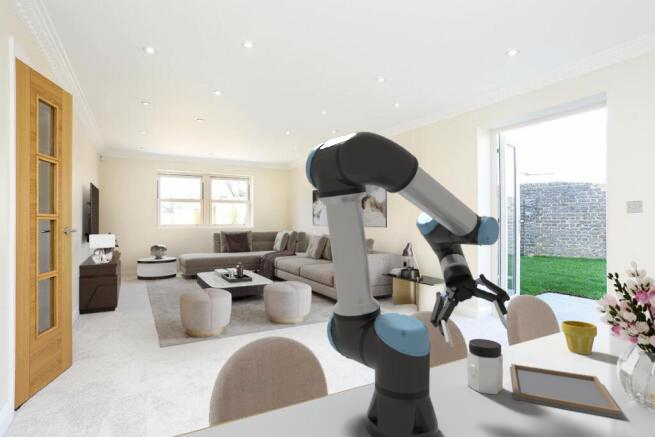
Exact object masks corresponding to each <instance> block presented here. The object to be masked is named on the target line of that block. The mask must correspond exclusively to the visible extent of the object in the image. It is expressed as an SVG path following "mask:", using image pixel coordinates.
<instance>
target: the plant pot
mask: <svg viewBox="0 0 655 437" xmlns="http://www.w3.org/2000/svg"><path fill="white" fill-rule="evenodd" d="M561 331H562V332H563V334H564V337H565V341H566V345H567V349H569V350H570V352H571V351H572V352H571V353H573V354H579V355H590V354H592V350H593V346H594V341H595V337H597V335H598V328H597V325H596V324H593V323H592V322H588V321H579V320H563V321H561ZM569 350H568V351H569Z"/></svg>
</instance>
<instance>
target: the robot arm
mask: <svg viewBox="0 0 655 437" xmlns="http://www.w3.org/2000/svg"><path fill="white" fill-rule="evenodd" d="M419 164H420V163H419V160H418V158H417V157H416V156H415V155H413V154H412V153H411V152H410V151H408V150H407V149H406V148H405V147H403V146H402V145H400V144H398V143H397V142H395V141H393V140H392V139H390V138H387V137H385V136H383V135H380V134H377V133H374V132H370V131H357V132H354V133H351V134H348V135H345V136H340V137H338V138H334V139H330V140H326V141H323V142H322V143H321V144H318V145H317V146H315V147H314V148H313V149H312V150H311V152H310V153H309V154H308V156H307V159H306V162H305V175H306V178H307V181H308V183H310V185H312V187H313V188H314V189H316V190H317V192H316V193H317V197H318V198H317V199H318V201H320V202H321V203H322V204H324V206H325V211H326V218H327V226H328V227H327V228H328V233H329V240H330V241H329V242H330V249H331V258H332V265H333V271H334V272H333V275H334V280H335V288H336V296H337V301H336V303H335V305H334V306H333V307H332V312H333V313H332V314H331V315H330V316H329V319H330V320H329V321H328V322H327V324H326V325H327V326H326V333H327V334H326V335H327V338H328V341H329V344H330V346H331V347H332V348H333V350H334V351H335V352H337V353H339V355H341V356H342V357H345V358H346V359H349V360H353V361H354V362H357V363H358V364H361V365H363V366H366V368H367V367H368V368H370V369H372V370H374V390H373V394H372V397H371V400H370V402H369V406H368V408H367V411H366V421H365V422H366V429H367V431H368V433H369V435H370V436H371V437H438V436H439V423H438V417H437V415H436V411H435V407H434V404H433V402H432V398H431V395H430V394H431V393H430V390H431V389H430V383H431V382H430V380H431V379H430V377H431V375H430V374H431V373H430V372H431V370H430V369H431V350H432V347H431V341H430V340H431V339H430V331H429V328H428V326H427V324H425V323H424V322H423V321H422V320H420V319H418V318H416V317H414V316H412V315H408V314H400V313H398V312H385V313H382V311H381V305H380V302H379V300H377V299H376V298H375V297H374V296H373V290H372V281H371V273H370V265H369V257H368V256H369V255H368V247H367V241H366V232H365V231H366V230H365V225H364V224H365V222H364V217H363V216H364V215H363V214H364V213H363V207H362V200H363V198H364V197H365V196H366V195H367V188H366V186H372V187H373V186H374V187H378V188H380V189H383V190H385V191H386V192H388V193H389V194H398V195H399V196H401V197H402V198H404V200H407V201H408V202H409V203H411V204H412V205H413V206H415V207H416V208H417V209H418V210H421V211H422V212H421V213H420V214H419V216H418V218H417V219H416V220H415V222H416V224H415V225H416V228H417V229H418V231H419V232H420V234H421V236H422V237H423V239H425V241H426V243H427V244H428V245H429V246H430V248H431V249H432V251H433V252H434V254H435V255H436V257H437V260H438V262H439V265H440V266H439V267H440V269H441V274H442V278H443V281H444V284H445V287H446V290H445V291H444V292H440V291H436V293H435V297H436V298H435V303H434V306H433V308H432V312H431V315H430V319H429V322H430V324H432V326H433V327H434V328H437V327H438V330H439V332H440V334H441V336H442V337H444V340H445V342H446V344H447V345H448V346H449V347H450V348H451V349H452V348H455V345H454V342H453V338H452V335H451V330H450V328H449V327H450V326H449V324H448V321H449V319H450V317H451V315H452V313H453V312H454V310H455V308H456V307H457V306H458V305H459V304H460V303H462V302H464V301H467V300H470V299H472V297H474V298H477V299H482V300H484V301H488V302H491V303H493V305H494V308H495V310H496V313H497V315H498V317H499V319H500V322H501V324H502V325H503V327H504V328H505V330H508V329H510V326H509V324H508V322H507V319H506V317H505V315H508V309H507V307H506V305H505V303H506V302H509V301H510V300H511V297H510V295H509V294H508V292H507V290H505V289H503V288H501V287H500V286H498V285H497V284H495V283H493V282H492V281H491V280H489V279H487V277H486V276H485V274H484V273H480V274H479V276H478V278H476V279H474V277H473V275H472V272H471V269H470V266H469V265H468V262H467V259H466V256H465V254H464V251H463V248H462V245H467V246H469V245H470V246H480V247H482V246H493V245H494V244H496V243H497V241H498V240H499V236H500V224H499V222H498V220H497V219H496V218H495V217H493V216H486V215H483V216H481V215H479V214H477V213H476V212H475V211H474V210H472V209H471V208H470V207H469V206H467V205H466V204H465V203H464V202H463V201H461V200H460V199H459V198H458V197H456V196H455V195H454V194H453V193H452V192H451V191H450V190H448V189H447V188H446V187H444V185H443V184H441V183H440V182H439V181H437V180H436V179H435V178H434V177H433V176H431V175H430V174H429V173H428V172H426V170H424V169H423V168H422V167H421V166H420V165H419ZM479 285H480V286H483V287H486V288H487V289H488V290H490V291H491V292H489V291H486V290H484V289H481V288H479V287H478V286H479ZM492 292H493V293H492Z"/></svg>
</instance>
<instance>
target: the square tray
mask: <svg viewBox="0 0 655 437" xmlns="http://www.w3.org/2000/svg"><path fill="white" fill-rule="evenodd" d="M510 365H511V366H509V372H510V379H511V380H510V381H511V389H512V396H513V397H512V398H513V400H516V401H520V402H521V401H522V402H528V403H532V404H538V405H542V406H543V405H544V406H550V407H554V408H560V409H563V410H564V409H566V410H571V411H576V412H581V413H587V414H593V415H598V416H603V417H609V418H614V419H620V420H624V415H623V414H622V411H621V409H620V408H619V406H617V404H616V403H615V401H614V400H613V398H612V397H611V395H610V394H609V392H608V391H607V389H606V388H605V387H604V385H603V384H602V382H601V381H600V379H599V378H598V377H597V376H596V375H589V374H583V373H577V372H576V373H574V372H569V371H562V370H555V369H549V368H541V367H536V366H528V365H523V364H514V363H511V364H510Z"/></svg>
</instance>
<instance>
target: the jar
mask: <svg viewBox="0 0 655 437" xmlns="http://www.w3.org/2000/svg"><path fill="white" fill-rule="evenodd" d="M503 355H504V354H502V345H501V344H500V343H499V342H497V341H495V340H492V339H485V338H473V339H470V340H469V341H468V351H467V386H468V387H470V388H471V389H473V390H474V391H476V392H477V393H480V394H489V395H498V394H499V393H500V392H501V391H502V390H503V388H504V387H503V386H504V383H503V377H504V372H503V371H504V370H503V367H504V365H503V363H504V362H503V361H504V358H503V357H504V356H503Z"/></svg>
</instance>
